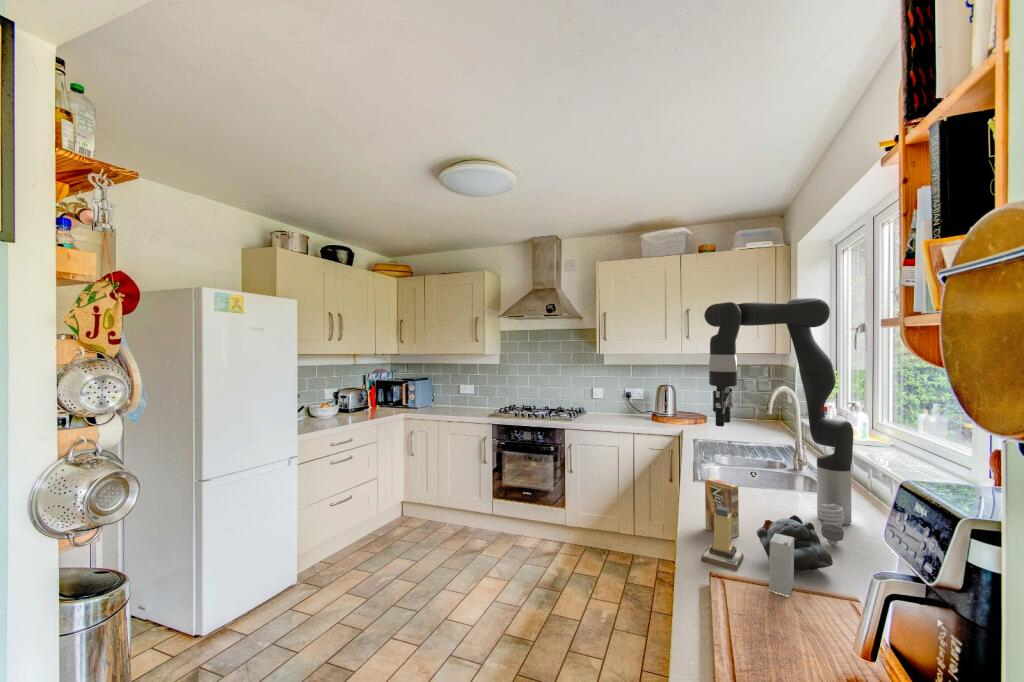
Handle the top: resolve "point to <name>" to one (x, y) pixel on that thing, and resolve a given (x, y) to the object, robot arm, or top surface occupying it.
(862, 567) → the top surface
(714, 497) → the candy box
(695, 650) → the top surface
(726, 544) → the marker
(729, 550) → the ochre key
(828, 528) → the light bulb
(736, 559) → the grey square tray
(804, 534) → the lucky cat figurine
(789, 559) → the skincare box
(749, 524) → the top surface
